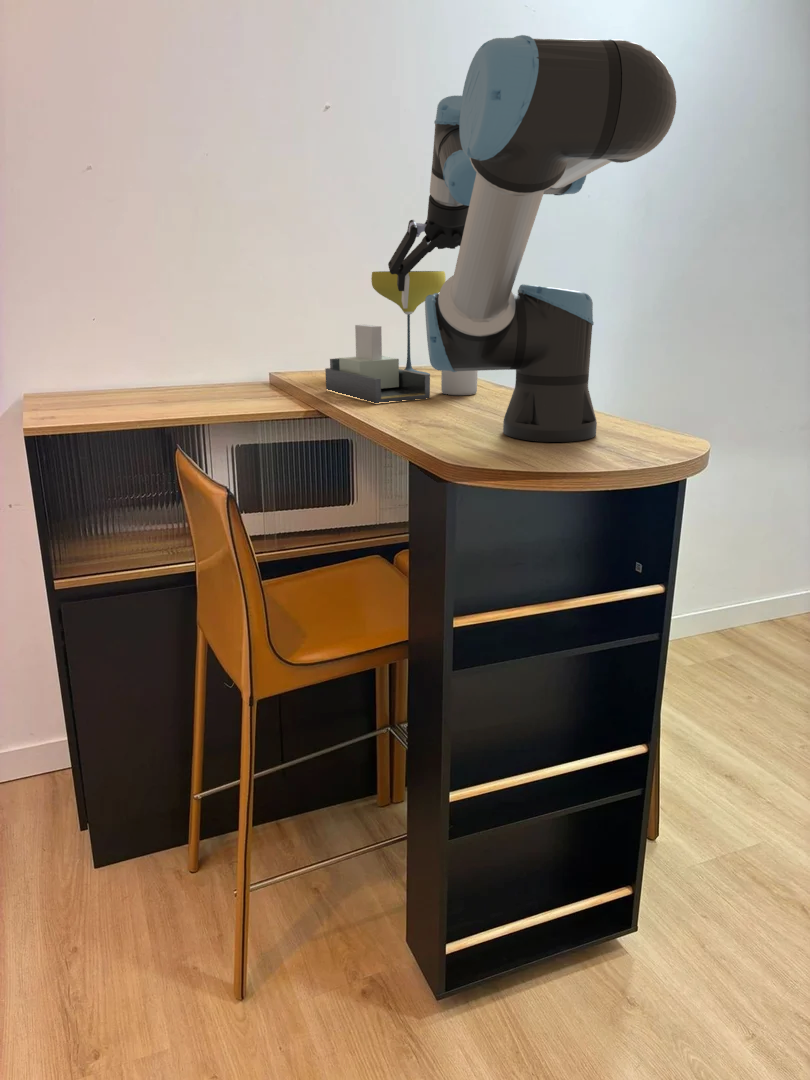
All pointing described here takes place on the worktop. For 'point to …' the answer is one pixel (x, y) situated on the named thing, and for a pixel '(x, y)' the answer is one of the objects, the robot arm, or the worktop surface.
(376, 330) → the block with upright handle
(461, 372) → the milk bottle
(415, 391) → the bay
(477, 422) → the worktop surface
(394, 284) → the cocktail glass
